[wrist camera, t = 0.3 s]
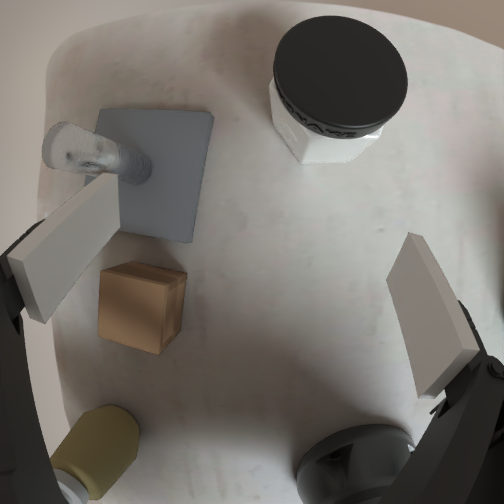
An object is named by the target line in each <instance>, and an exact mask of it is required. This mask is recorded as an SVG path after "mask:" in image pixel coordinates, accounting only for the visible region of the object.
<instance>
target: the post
mask: <svg viewBox="0 0 504 504" xmlns="http://www.w3.org/2000/svg"><path fill="white" fill-rule="evenodd" d="M42 157H43V161H44V163H45V164H46V165H47V166H48V167H49V168H52V169H57V170H62V171H68V172H73V173H78V174H83V175H89V176H94V177H98V176H100V175H101V174H102V173H111V174H118V181H119V182H123V183H128V184H133V185H140V184H143V183H144V182H146V181H147V180H148V179H149V177H150V175H151V173H152V162H151V160H150V159H149V157H148V156H146V155H144V154H142V153H140V152H138V151H135V150H133V149H131V148H128V147H126V146H124V145H121V144H119V143H117V142H114V141H112V140H110V139H107V138H105V137H103V136H100V135H98V134H96V133H93V132H91V131H88V130H86V129H84V128H81V127H79V126H76V125H74V124H71V123H69V122H59V123H57V124H56V125H54V126H53V127H52V128H51V129H50V130H49V131H48V133H47V135H46V136H45V139H44V141H43V145H42Z"/></svg>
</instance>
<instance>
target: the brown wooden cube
mask: <svg viewBox="0 0 504 504" xmlns="http://www.w3.org/2000/svg"><path fill="white" fill-rule="evenodd" d="M186 279H187V273H184V272H179V271H174V270H169V269H165V268H160V267H155V266H150V265H146V264H141V263H136V262H132V261H131V262H128V263H125V264H121V265H118V266H115V267H111V268H108V269H105V270H101V272H100V288H99V311H98V336H99V337H102V338H105V339H108V340H111V341H114V342H117V343H120V344H123V345H127V346H130V347H133V348H136V349H140V350H143V351H147V352H150V353H154V354H157V355H159V354H160V353H161V352H162V351H163V350H164V349H165V348H166V347H167V345H168V344H169V343H170V342H171V341H172V340H173V339H174V338H175V337H176V336H177V334H178V333H179V332H180V329H181V320H182V312H183V303H184V295H185V287H186Z"/></svg>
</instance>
